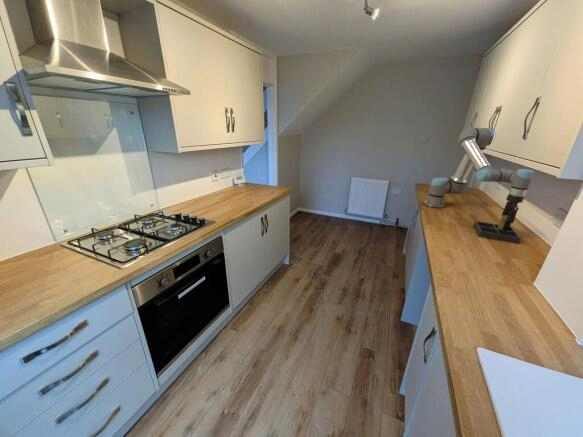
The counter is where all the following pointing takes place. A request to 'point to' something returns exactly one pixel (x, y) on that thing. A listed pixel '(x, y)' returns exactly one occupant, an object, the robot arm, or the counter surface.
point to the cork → (502, 222)
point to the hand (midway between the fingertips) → (502, 229)
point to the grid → (496, 232)
